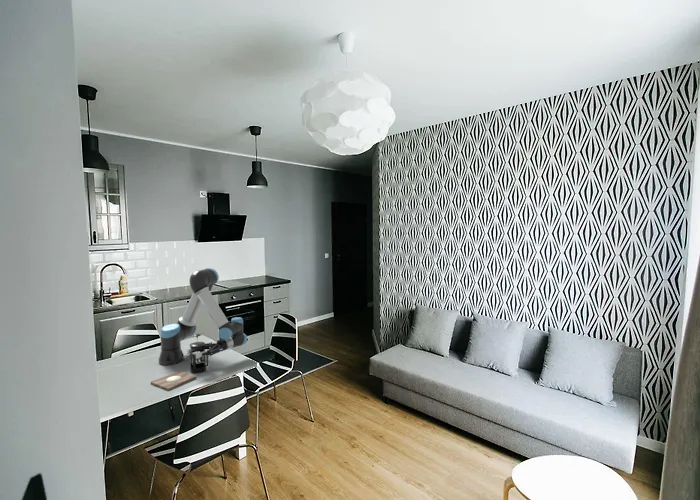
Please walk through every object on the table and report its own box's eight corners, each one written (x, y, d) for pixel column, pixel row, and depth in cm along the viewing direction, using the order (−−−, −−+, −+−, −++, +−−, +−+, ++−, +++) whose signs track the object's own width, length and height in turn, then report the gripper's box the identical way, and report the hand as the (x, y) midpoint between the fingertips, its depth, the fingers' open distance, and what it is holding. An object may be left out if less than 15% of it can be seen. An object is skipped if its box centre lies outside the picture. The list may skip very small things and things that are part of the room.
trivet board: (150, 383, 207) (150, 381, 207) (179, 372, 222) (179, 370, 222) (168, 390, 199) (167, 388, 199) (196, 378, 214) (196, 376, 214)
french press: (185, 373, 221) (184, 336, 219) (193, 367, 230) (192, 331, 229) (204, 374, 220) (203, 337, 218) (211, 367, 229) (210, 332, 227)
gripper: (234, 354, 231) (201, 364, 214) (215, 345, 245) (183, 355, 228) (234, 342, 230) (200, 352, 213) (215, 335, 245) (182, 343, 228)
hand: (191, 353), depth 221 cm, fingers closed on french press, 10 cm apart
